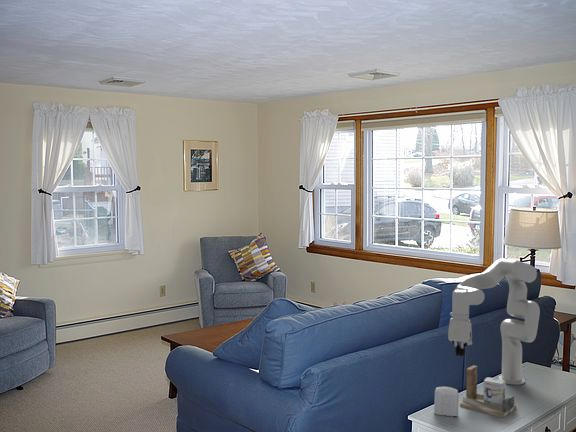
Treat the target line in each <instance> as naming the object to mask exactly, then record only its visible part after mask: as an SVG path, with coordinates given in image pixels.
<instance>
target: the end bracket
mask: <svg viewBox="0 0 576 432" xmlns="http://www.w3.org/2000/svg"><path fill="white" fill-rule="evenodd" d="M477 393H478V365H471V366H469V367H467V368H466V396H465V397H469V398H472V399H476V398H477Z"/></svg>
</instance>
